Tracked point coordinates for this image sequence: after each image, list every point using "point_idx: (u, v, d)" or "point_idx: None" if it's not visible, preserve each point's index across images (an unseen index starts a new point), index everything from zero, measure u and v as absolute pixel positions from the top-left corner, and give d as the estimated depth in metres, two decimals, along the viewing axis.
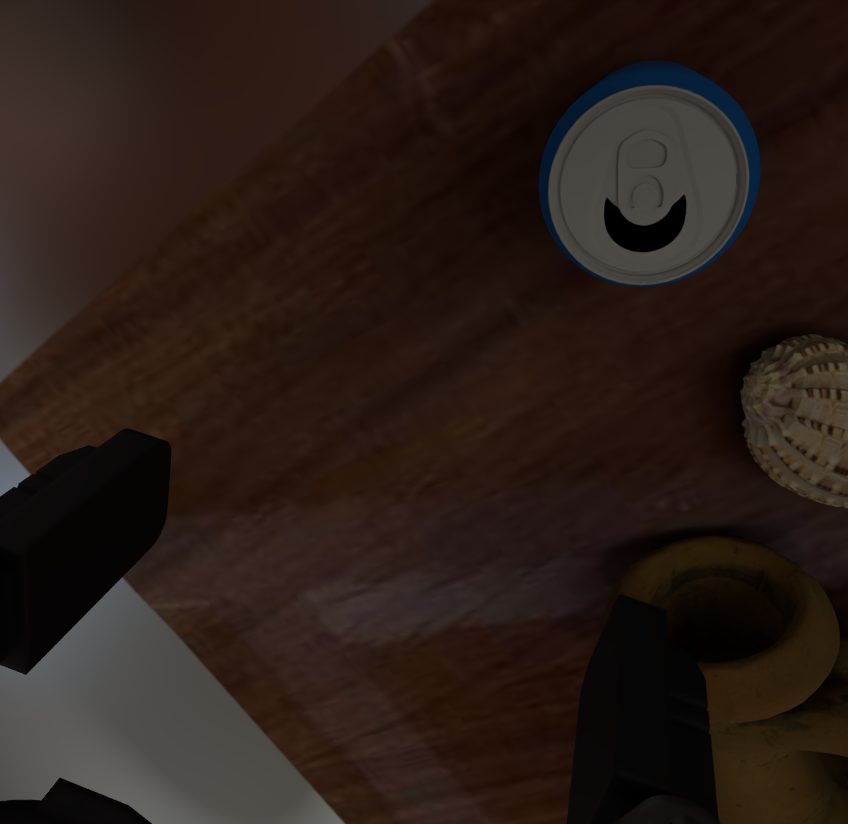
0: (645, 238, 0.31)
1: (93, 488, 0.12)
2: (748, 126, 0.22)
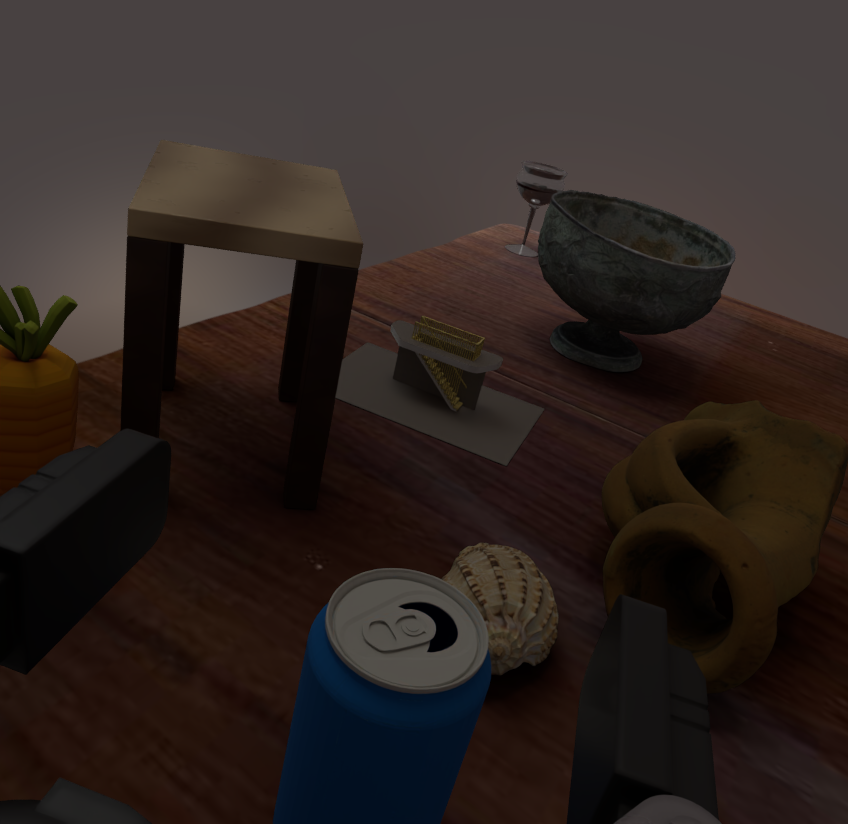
0: None
1: (93, 488, 0.12)
2: None
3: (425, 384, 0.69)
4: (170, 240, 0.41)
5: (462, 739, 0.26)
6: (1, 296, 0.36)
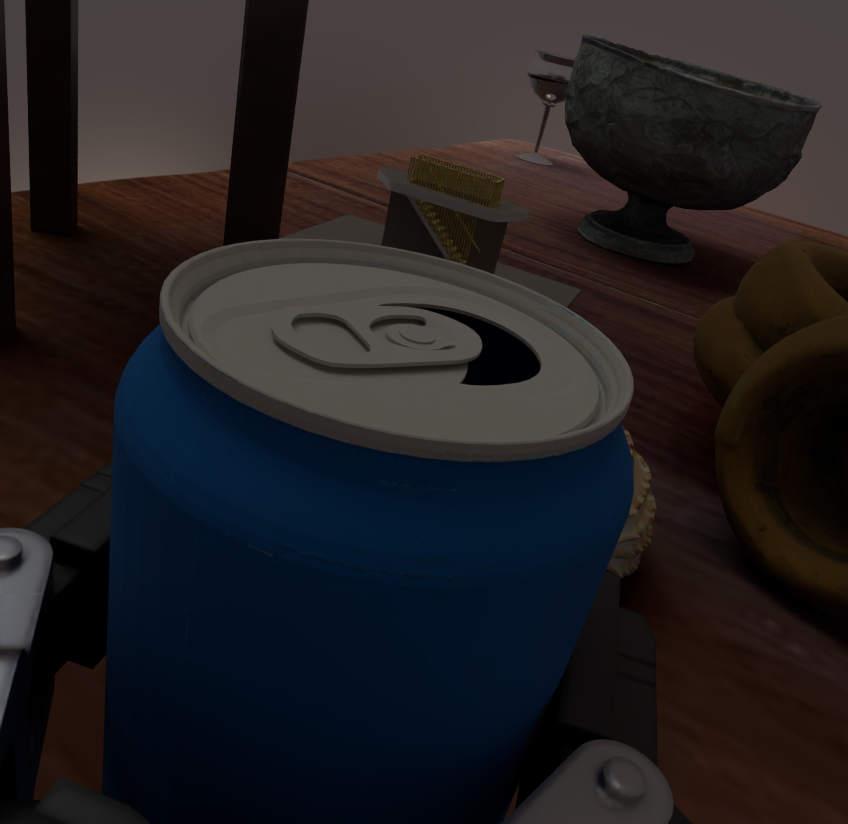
0: None
1: None
2: None
3: (424, 252, 0.51)
4: None
5: (564, 642, 0.09)
6: None
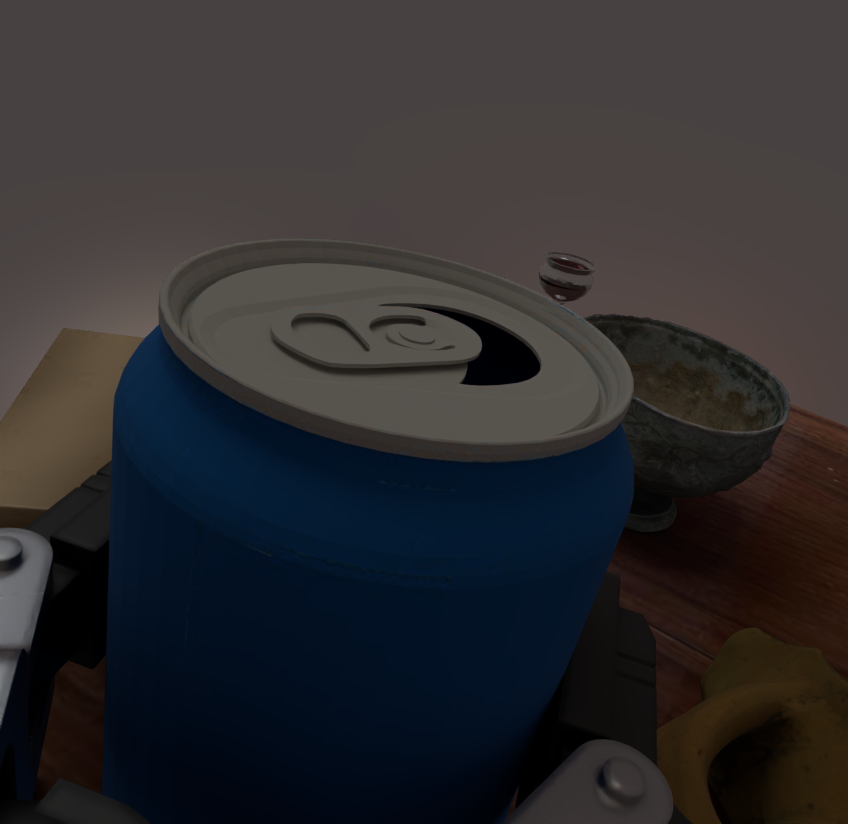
0: None
1: None
2: None
3: None
4: None
5: (564, 642, 0.09)
6: None
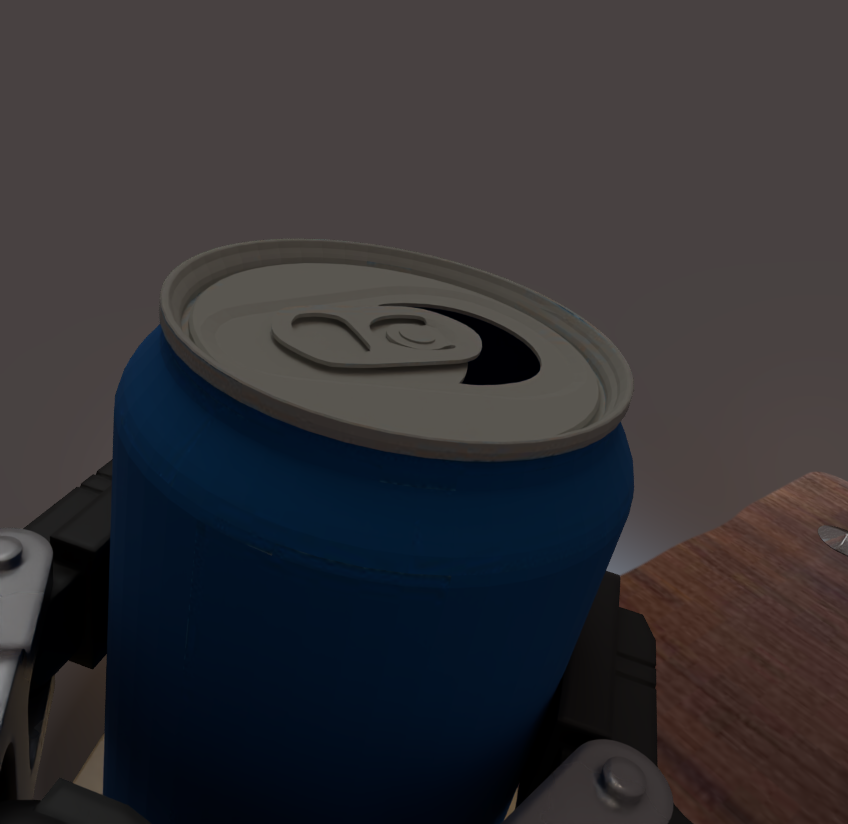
0: None
1: None
2: None
3: None
4: None
5: (564, 641, 0.09)
6: None
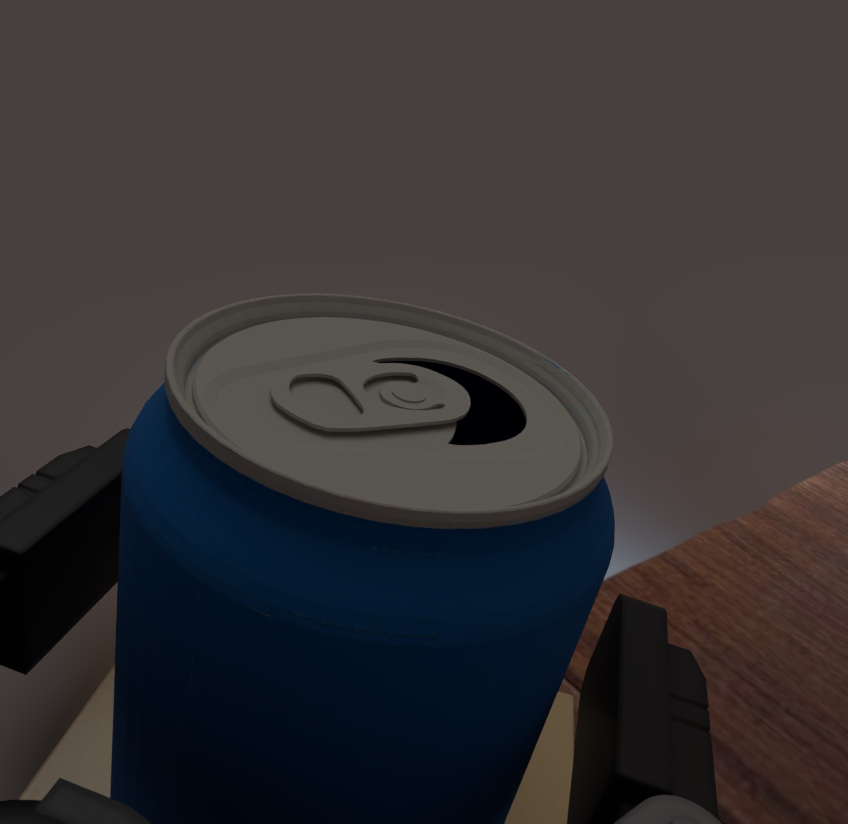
0: None
1: (93, 488, 0.12)
2: None
3: None
4: None
5: (547, 687, 0.10)
6: None
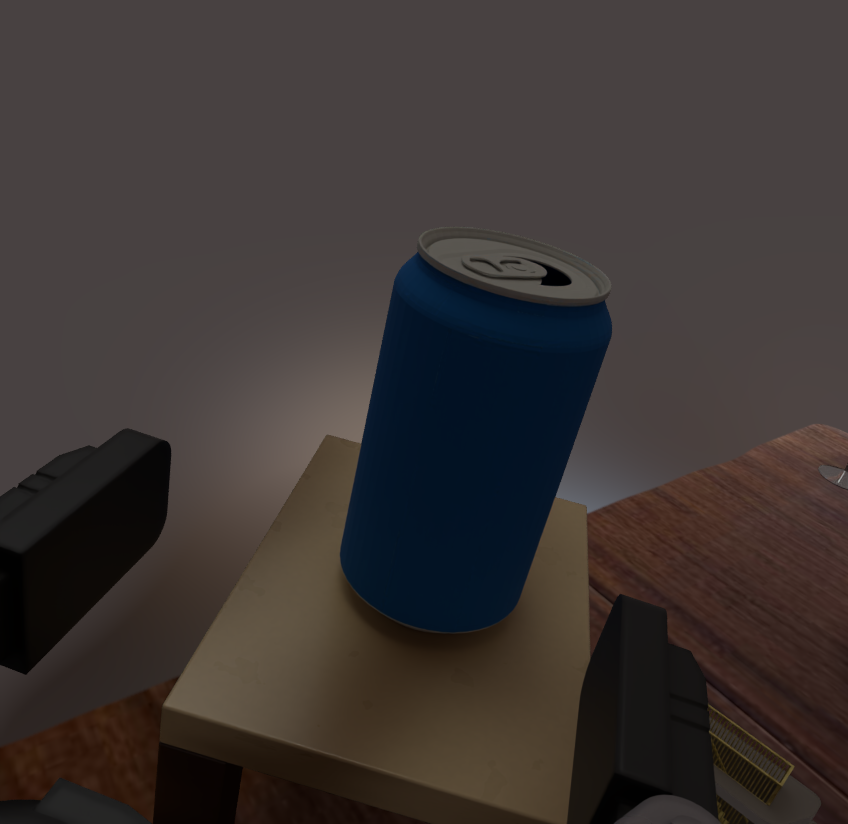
0: None
1: (93, 488, 0.12)
2: None
3: None
4: (230, 761, 0.22)
5: (582, 392, 0.22)
6: None
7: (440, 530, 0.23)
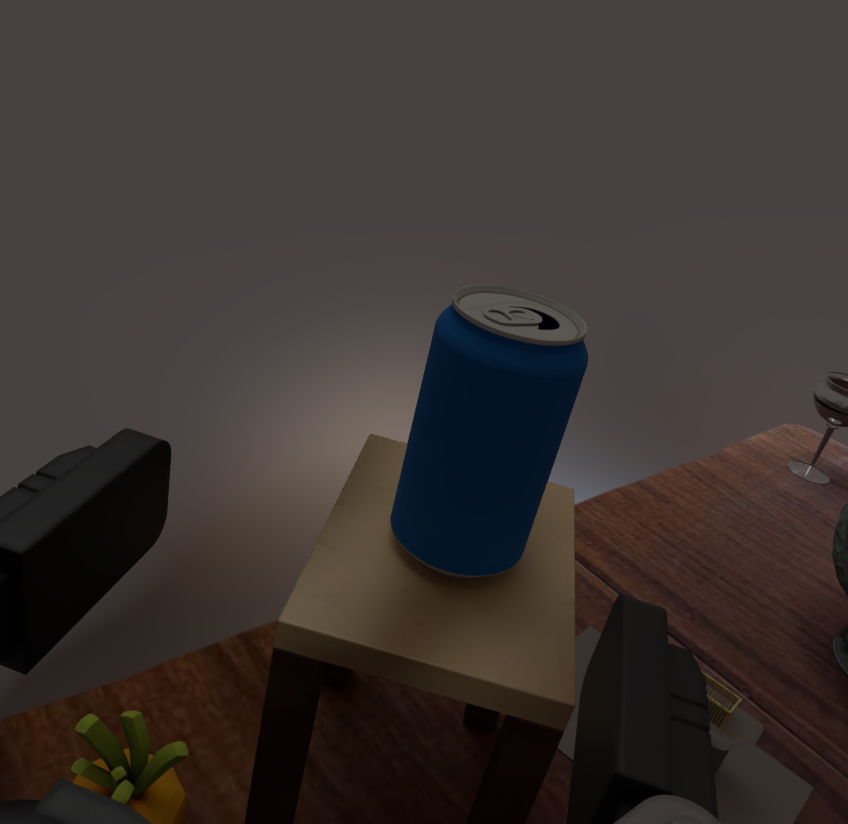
0: None
1: (93, 488, 0.12)
2: None
3: None
4: (323, 660, 0.31)
5: (567, 403, 0.32)
6: (102, 736, 0.29)
7: (467, 500, 0.33)
